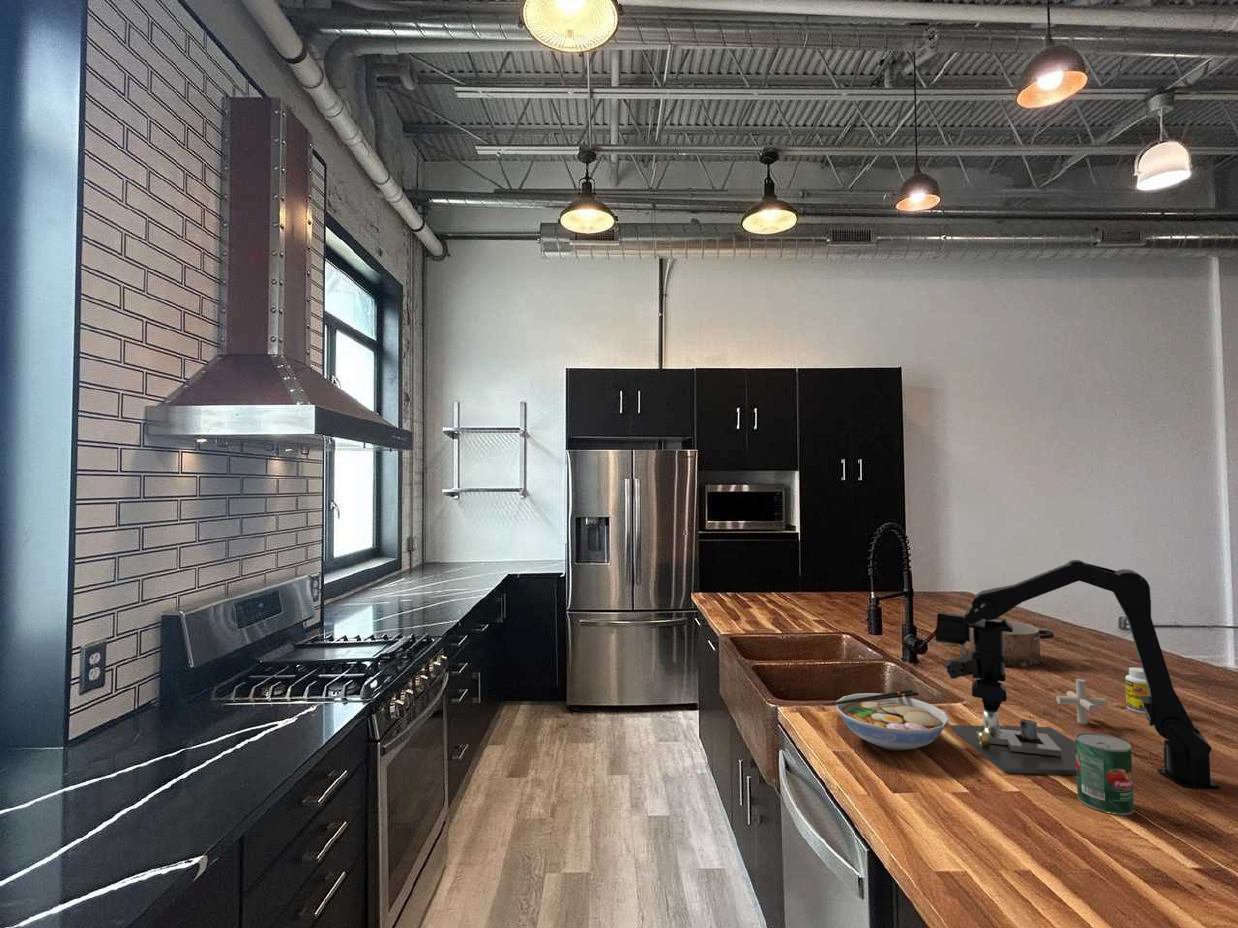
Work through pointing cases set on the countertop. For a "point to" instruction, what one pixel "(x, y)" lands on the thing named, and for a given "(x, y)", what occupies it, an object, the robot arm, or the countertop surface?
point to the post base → (1022, 760)
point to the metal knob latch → (1016, 737)
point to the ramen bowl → (892, 719)
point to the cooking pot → (1016, 645)
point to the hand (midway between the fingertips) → (989, 719)
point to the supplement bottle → (1136, 689)
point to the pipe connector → (1081, 701)
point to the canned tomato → (1104, 773)
